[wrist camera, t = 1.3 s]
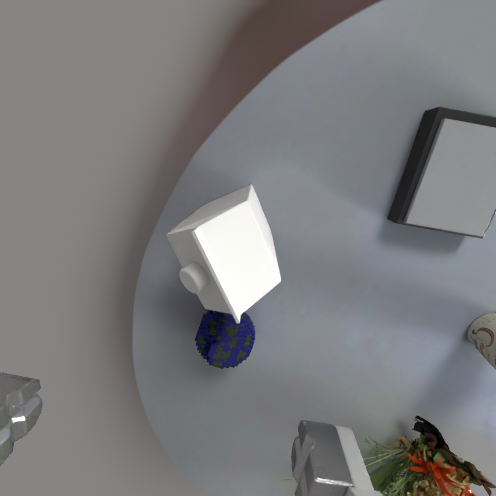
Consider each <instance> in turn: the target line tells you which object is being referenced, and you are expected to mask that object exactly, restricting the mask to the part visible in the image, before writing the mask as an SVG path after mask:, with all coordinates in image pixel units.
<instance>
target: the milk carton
mask: <svg viewBox="0 0 496 496" xmlns="http://www.w3.org/2000/svg"><path fill="white" fill-rule="evenodd" d="M166 237H167V239H168V241H169V243H170V245H171V247H172V249H173V251H174V253H175V254H176V256H177V258H178V260H179V262H180V264H181V266H182V267H183V269H181V270H180V272H179V276H180V279H181V281H182V283H183V285H184V286H185V287H186V288H187V289H188V290H189V291H190V292H191V293H194V294H197V295H198V297H199V299H200V301H201V303H202V304H203V306H204V308H205V309H208V310H213V311H219V312H224V313H229V314H232V315H233V317H234V319H235V321H236V323H240V317H241V314H242V313H243V312H245V311H246V310H247V309H248V308H249V307H251V306H252V305H253V304H254V303H255V302H257V301H258V300H259V299H260V298H261V297H263V296H264V295H265V294H266V293H268V292H269V291H270V290H271V289H272V288H274V287H275V286H276V285H277V284H278V283H280V282H281V277H280V273H279V268H278V263H277V258H276V253H275V248H274V243H273V238H272V233H271V230H270V227H269V225H268V222H267V220H266V217H265V215H264V213H263V210H262V208H261V205H260V203H259V200H258V198H257V195H256V193H255V190H254V188H253V186H252V185H248V186H246V187H244V188H241V189H239V190H237V191H235V192H232V193H230V194H228V195H225V196H223V197H221V198H218V199H216V200H214V201H211V202H209V203H207V204H204V205H202V206H201V207H200V208H199V209H197V210H196V211H195V212H194V213H192V214H191V215H190V216H189V217H187V218H186V219H185V220H184V221H182V222H181V223H180V224H179V225H177V226H176V227H175V228H174V229H172V230H171V231H170V232H169V233H167V234H166Z"/></svg>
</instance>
